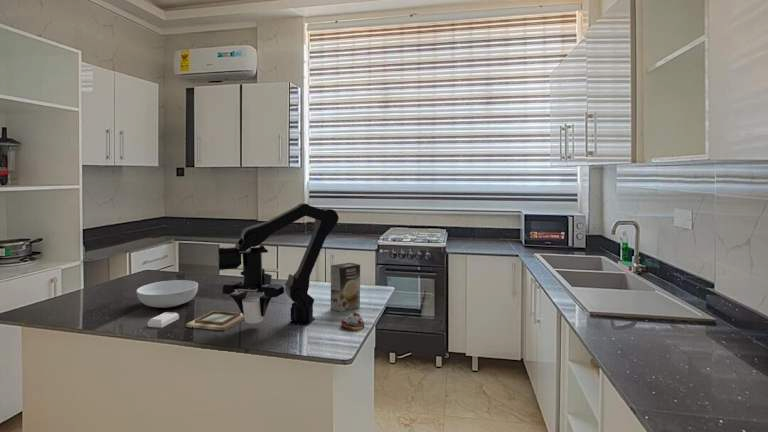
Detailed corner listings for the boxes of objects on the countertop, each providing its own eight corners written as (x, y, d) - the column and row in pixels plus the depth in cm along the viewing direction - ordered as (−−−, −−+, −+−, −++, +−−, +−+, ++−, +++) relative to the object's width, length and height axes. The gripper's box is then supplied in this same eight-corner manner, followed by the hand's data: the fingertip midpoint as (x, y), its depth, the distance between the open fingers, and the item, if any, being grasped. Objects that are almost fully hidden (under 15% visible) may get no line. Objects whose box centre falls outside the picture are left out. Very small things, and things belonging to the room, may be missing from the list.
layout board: (248, 316, 152) (248, 311, 152) (224, 330, 139) (224, 325, 138) (212, 313, 156) (212, 308, 155) (186, 326, 142) (185, 321, 142)
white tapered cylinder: (256, 315, 145) (256, 294, 144) (269, 319, 141) (269, 298, 140) (238, 320, 140) (237, 299, 139) (250, 325, 136) (250, 303, 135)
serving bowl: (128, 304, 166) (128, 286, 166) (185, 294, 181) (184, 277, 181) (149, 317, 152) (148, 297, 151) (208, 304, 167) (208, 286, 167)
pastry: (366, 330, 140) (366, 315, 139) (342, 332, 138) (342, 316, 138) (362, 322, 147) (362, 307, 147) (339, 323, 146) (339, 308, 146)
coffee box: (341, 312, 157) (341, 268, 156) (330, 308, 162) (329, 265, 160) (360, 307, 164) (360, 264, 162) (349, 303, 168) (349, 261, 167)
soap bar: (147, 327, 142) (147, 319, 142) (166, 318, 151) (165, 311, 151) (161, 328, 141) (161, 320, 141) (179, 319, 150) (178, 312, 150)
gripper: (291, 263, 144) (292, 310, 146) (240, 260, 149) (241, 306, 150) (275, 270, 134) (276, 321, 135) (220, 267, 138) (222, 316, 139)
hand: (253, 315), depth 140 cm, fingers closed on white tapered cylinder, 6 cm apart
